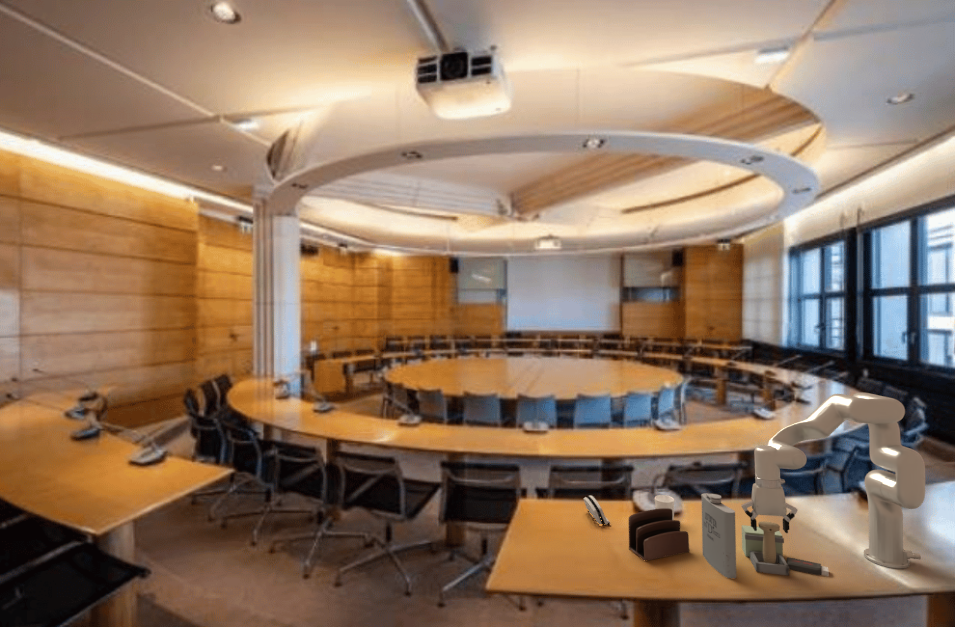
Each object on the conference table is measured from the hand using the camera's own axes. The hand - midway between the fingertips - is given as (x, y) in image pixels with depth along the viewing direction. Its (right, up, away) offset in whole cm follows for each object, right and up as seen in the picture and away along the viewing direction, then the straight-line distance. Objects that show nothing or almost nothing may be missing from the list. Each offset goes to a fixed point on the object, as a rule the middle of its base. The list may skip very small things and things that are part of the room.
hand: (769, 530), depth 173 cm
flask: (-17, -14, +2) cm, 22 cm away
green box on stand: (+1, -13, +4) cm, 13 cm away
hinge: (-51, -14, +43) cm, 68 cm away
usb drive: (+12, -13, -2) cm, 18 cm away
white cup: (-22, -13, +38) cm, 46 cm away
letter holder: (-34, -14, +14) cm, 39 cm away
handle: (0, -13, 0) cm, 13 cm away
